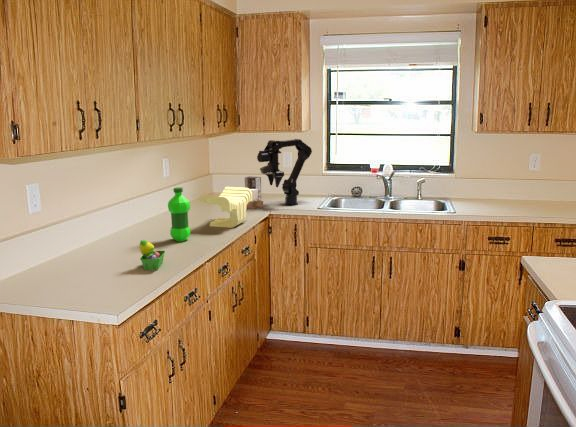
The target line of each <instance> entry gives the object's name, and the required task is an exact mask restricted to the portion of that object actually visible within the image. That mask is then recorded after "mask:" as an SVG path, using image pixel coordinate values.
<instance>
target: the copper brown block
mask: <svg viewBox="0 0 576 427" xmlns="http://www.w3.org/2000/svg"><path fill="white" fill-rule="evenodd" d="M262 208H264V201H263V200H262V199H261V200H259V199H258V200H257V201H254V202H251V201H250V202H248V204H247V208H246V210H254V209H262Z"/></svg>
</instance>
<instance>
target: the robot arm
mask: <svg viewBox="0 0 576 427" xmlns="http://www.w3.org/2000/svg"><path fill="white" fill-rule="evenodd" d="M287 147H295V149H296V151H297V159H296V161H295V164H294V167H293V168H292V171H291V173H290V175H289V177H288V178H287V179H284V180H283V183H282V185H281V186H282V187H281V189H282V191H283V193H284V195H285V198H284V199H285V202H284V205H287V206H296V205H297V206H298V205H299V203H298V196H299V194H300V191H299V190H298V189H297V180H298V178H299V177H300V173H301V171H302V169H303V167H304V164H305V162H306V161H307V160H308V159H309V158H310V156H311V155H312V152H313V150H312V148H311V147H310V146H309V145H308V144H307V143H306V142H304V141H303V140H302V139H301V138H300V139H299V138H294V139H287V140H273V139H271V140H268V142H267V144H266V146H265V147H264V149H263V150H259V151H258V154H257V155H256V159H257V161H258V163H264V162H265V163H267V165H265V166H262V167H260V168H259V170H260V173H261V174H263V175H265V176H266V177H267V178H268V182H269V185H270V186H273V182H274V183H275V187H276V188H278V187H279V186H280V183H281V182H282V179H283V178H284V177H285V172H284V171H283V170H280V169H279V166H280V162H279V154H282V151H280V149H282V148H287Z"/></svg>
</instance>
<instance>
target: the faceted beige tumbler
mask: <svg viewBox="0 0 576 427" xmlns="http://www.w3.org/2000/svg"><path fill="white" fill-rule="evenodd" d="M250 190H251V192H252V201H251V202H254V201H257V200H258V189H250Z"/></svg>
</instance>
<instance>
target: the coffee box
mask: <svg viewBox="0 0 576 427" xmlns="http://www.w3.org/2000/svg"><path fill="white" fill-rule="evenodd" d="M244 188H249V189H258V199H259V200H261V201H262V177H261V176H253V175H252V176H250V175H249V176H246V177H244Z"/></svg>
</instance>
